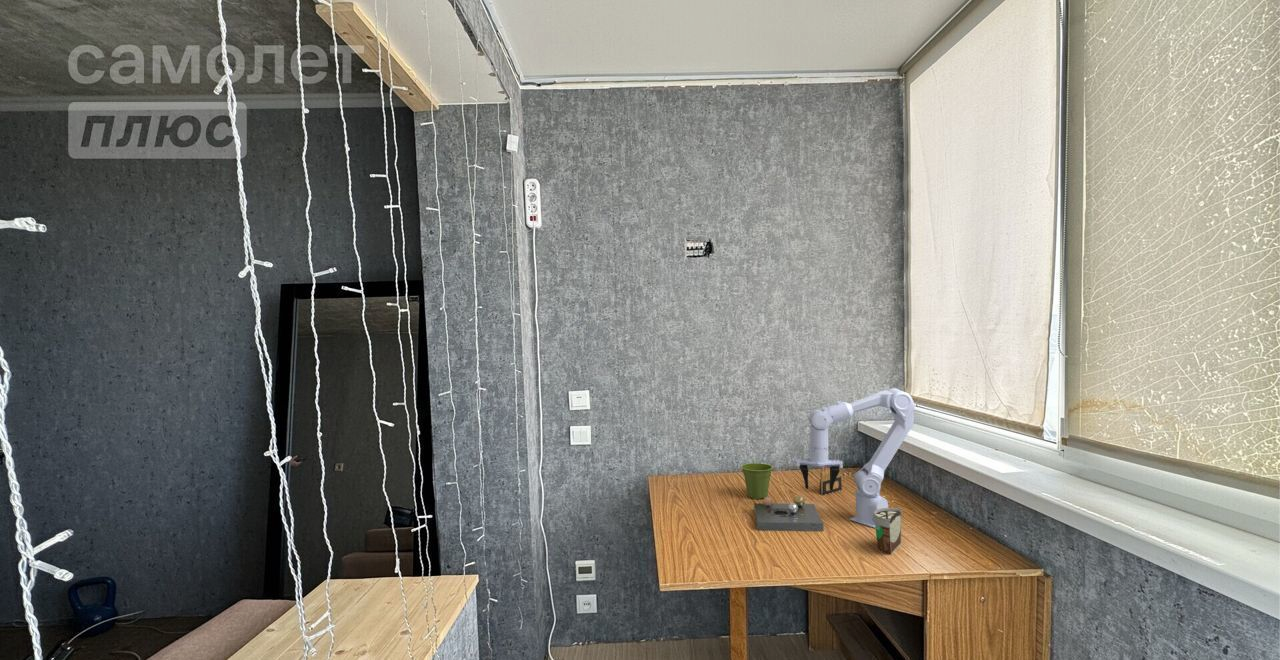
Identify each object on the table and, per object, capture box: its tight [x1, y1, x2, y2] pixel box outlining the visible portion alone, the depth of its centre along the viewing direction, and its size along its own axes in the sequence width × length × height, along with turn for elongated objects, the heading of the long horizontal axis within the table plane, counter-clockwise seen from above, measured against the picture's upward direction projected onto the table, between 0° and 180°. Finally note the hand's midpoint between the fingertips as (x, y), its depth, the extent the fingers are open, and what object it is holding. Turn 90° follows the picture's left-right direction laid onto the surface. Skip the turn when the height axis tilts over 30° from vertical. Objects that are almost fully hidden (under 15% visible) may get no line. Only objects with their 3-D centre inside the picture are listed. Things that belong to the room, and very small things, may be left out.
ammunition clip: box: [819, 458, 843, 496], centre depth 223 cm, size 11×2×12 cm, turn 124°
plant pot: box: [740, 462, 774, 500], centre depth 220 cm, size 12×12×11 cm
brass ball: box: [793, 494, 806, 506], centre depth 200 cm, size 4×4×4 cm
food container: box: [872, 507, 903, 556], centre depth 170 cm, size 12×6×10 cm, turn 141°
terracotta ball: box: [762, 496, 773, 506], centre depth 202 cm, size 3×3×3 cm
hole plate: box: [753, 502, 825, 532], centre depth 194 cm, size 20×19×2 cm
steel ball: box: [788, 502, 798, 513], centre depth 194 cm, size 3×3×3 cm
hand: (818, 488), depth 193 cm, fingers open, 7 cm apart
